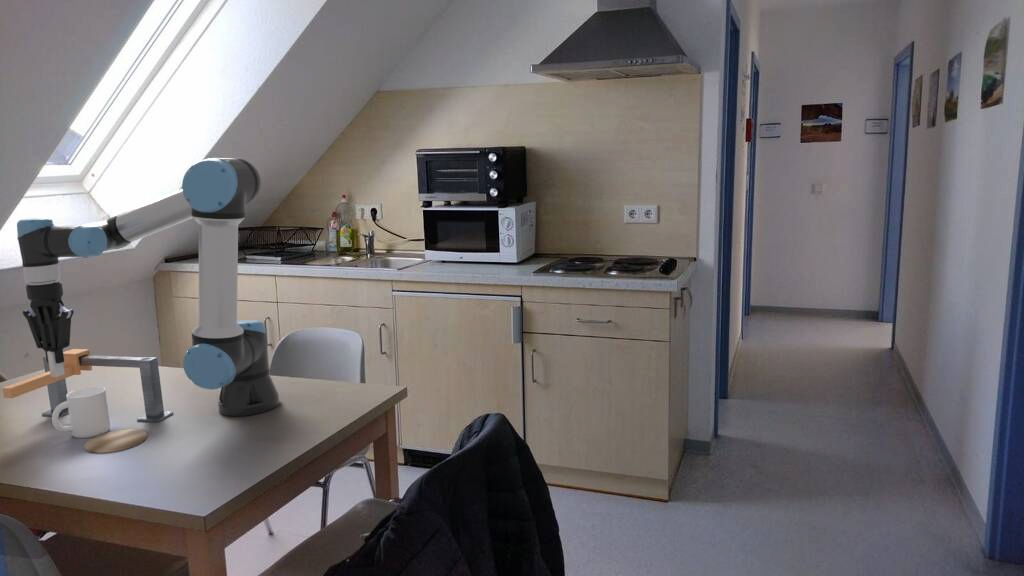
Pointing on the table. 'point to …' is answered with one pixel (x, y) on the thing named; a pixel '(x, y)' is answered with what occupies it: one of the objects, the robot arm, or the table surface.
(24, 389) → the orange bar
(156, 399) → the rail frame
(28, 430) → the table surface
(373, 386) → the table surface
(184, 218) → the robot arm
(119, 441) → the coaster
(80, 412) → the mug
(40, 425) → the table surface
